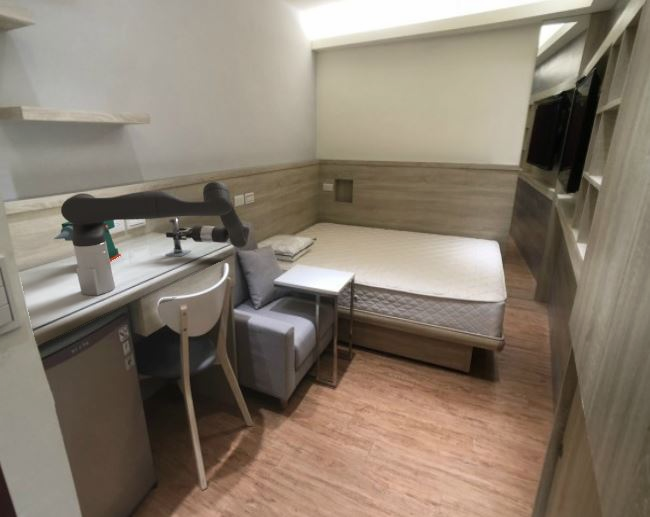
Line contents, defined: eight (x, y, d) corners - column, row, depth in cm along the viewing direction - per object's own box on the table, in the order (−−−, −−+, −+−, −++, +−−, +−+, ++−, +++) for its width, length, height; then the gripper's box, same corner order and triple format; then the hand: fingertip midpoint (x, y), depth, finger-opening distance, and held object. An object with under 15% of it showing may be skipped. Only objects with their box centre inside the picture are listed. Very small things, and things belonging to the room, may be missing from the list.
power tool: (74, 283, 127) (61, 230, 120) (55, 283, 127) (41, 230, 120) (122, 256, 157) (114, 212, 150) (106, 255, 157) (97, 212, 150)
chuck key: (177, 255, 158) (173, 220, 152) (170, 254, 158) (165, 219, 153) (185, 250, 164) (182, 216, 159) (178, 249, 165) (174, 216, 160)
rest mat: (181, 256, 157) (181, 255, 157) (165, 255, 158) (165, 254, 158) (190, 251, 165) (190, 250, 164) (174, 250, 166) (174, 249, 165)
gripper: (211, 222, 162) (178, 221, 164) (196, 229, 149) (161, 228, 151) (212, 237, 164) (180, 236, 166) (198, 246, 151) (163, 244, 153)
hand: (171, 232), depth 158 cm, fingers open, 8 cm apart
